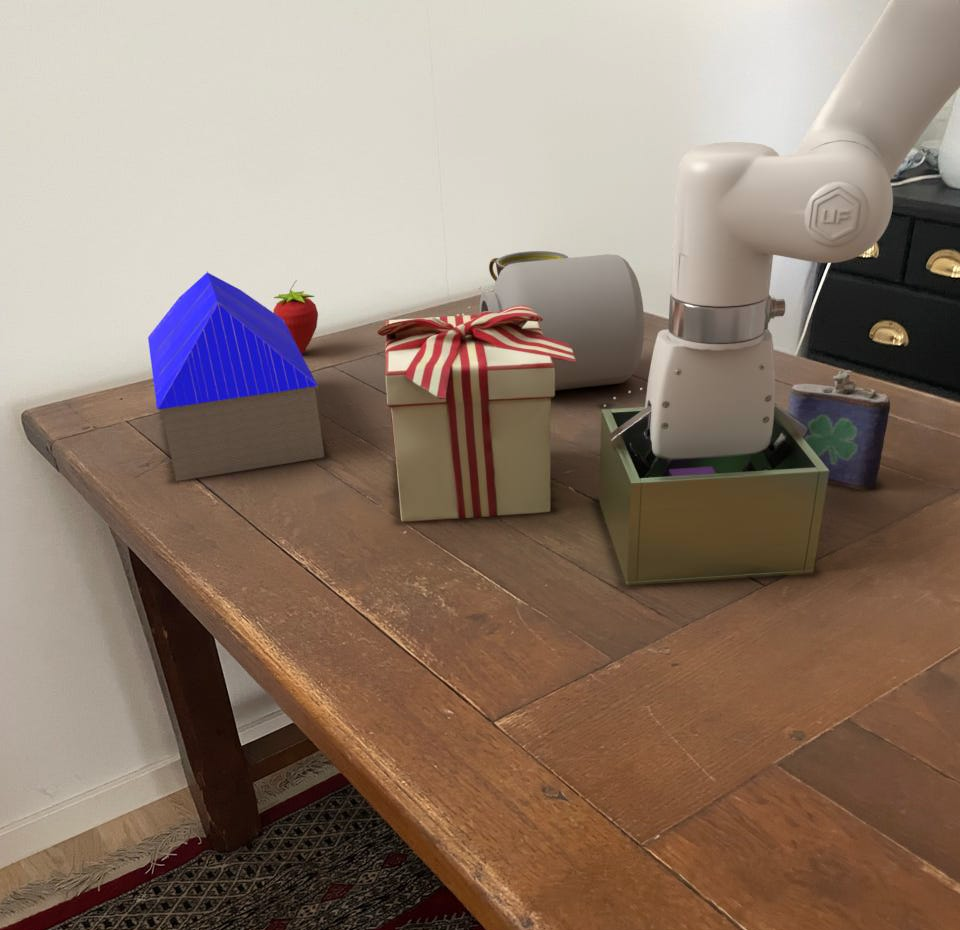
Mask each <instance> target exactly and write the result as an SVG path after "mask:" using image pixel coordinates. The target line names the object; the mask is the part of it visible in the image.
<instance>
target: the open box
mask: <svg viewBox="0 0 960 930" xmlns="http://www.w3.org/2000/svg"><path fill="white" fill-rule="evenodd" d="M643 409H645V406H637V407H624V408H623V407H622V408H604V409H601V410H600V412H601V413H600V447H599V448H600V451H599V492H598V495H599V496H598V497H599V498H598V503H599V506H600V510H601V512H602V515H603V517H604V522H605V524H606V527H607V530H608V533H609V536H610V539H611V542H612V546H613V548H614V551H615V554H616V557H617V560H618V563H619V566H620V569H621V572H622V575H623V578H624V582H625V584H626V586H638V585H640V586H641V585H654V584H656V585H657V584H670V583H685V582H686V583H687V582H700V581H701V582H702V581H715V580H718V581H719V580H732V579H745V578H748V579H749V578H761V577H764V578H765V577H777V576H778V577H779V576H793V575H809V574H811V575H812V574H814V569H815V564H816V558H817V552H818V545H819V538H820V531H821V525H822V521H823V520H822V519H823V513H824V507H825V501H826V495H827V489H828V483H829V482H828V476H829V470H828V468H827V467H826V466H825V465H824V463H823V462H822V461H821V460H820V458H819V457H818V456H817V455H816V453H815V452H814V451H813V450H812V448H811V447H810V446H809V445H808V443H807V442H806V441H805V440H804V438H803V437H802V436H801V435H792V436H791V443H790V446H789V448H790V454H789V456H788V457H787V458H786V459H785V460H783V461H782V462H781V463H780V464H779V465H778V466H777V467H776V468H774V469H773V470H766V471H750V472H743V469H745V465H748V463H749V462H750V461H749V459H748V458H747V456H746V455H742V456H729V457H714V458H698V459H681V460H672V461H671V463H670V464H669V466H668V467H667V469H666V470H665V471H664V473H663V474H662V476H661V477H654V478H639V476H638V474H637V471H636V469H635V467H634V464H633V462H632V460H631V457H630V455H629V453H628V450H627V448H626V446H616V451H615V450H614V449H613V447H612V446H611V443H610V441H609V435H610V433H612V432H613V431H614V430H616V429H617V428H619V427H620V426H621V425H623V424H624V423H625V422H627V421H628V420H630V419H631V418H632V417H634V416H635V415H636V414H638V413H639V412H641V411H642V410H643ZM782 430H783V429H782V428H780V427H779V426H777V425H776V424H774V423H773V430H772V436H771V441H770V443H771V442H772V441H774V440H775V439H777V438H778V437H779V435H780V434H781V432H782ZM631 446H632V447H633V449H635V450H636V451H637V452H638V453H639V454H640V455H641V456H642V457H644V456H645V454H646V453H647V451H648V450H649V448H650V447H651V446H652V441H651V440H649V439H646V438H645V435H644V433H643V434H641V435H640V436H638V437H637V438H636V439H634V440H633V441H632V442H631ZM698 467H713V469H714V471H715V473H716V474H702V475H686V476H670V477H668V472H669V469H682V468H698Z"/></svg>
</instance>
